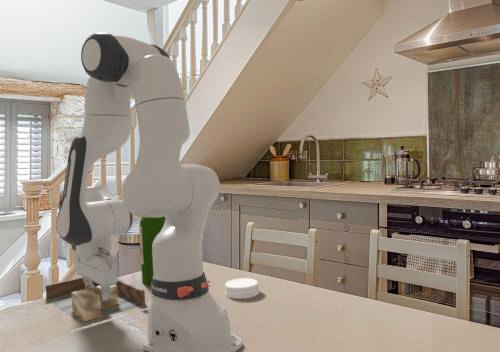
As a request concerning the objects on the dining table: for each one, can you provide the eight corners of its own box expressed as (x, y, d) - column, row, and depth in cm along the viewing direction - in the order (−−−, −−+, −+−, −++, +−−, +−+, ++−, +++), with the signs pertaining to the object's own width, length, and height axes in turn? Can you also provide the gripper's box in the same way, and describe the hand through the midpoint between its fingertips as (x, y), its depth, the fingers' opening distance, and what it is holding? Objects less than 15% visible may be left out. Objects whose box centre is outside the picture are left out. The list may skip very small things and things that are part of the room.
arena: (145, 306, 118) (144, 290, 117) (81, 325, 106) (80, 307, 106) (103, 286, 138) (103, 272, 137) (46, 300, 126) (45, 285, 126)
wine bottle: (141, 280, 142) (136, 183, 140) (168, 277, 145) (164, 181, 143) (143, 288, 134) (137, 185, 132) (172, 285, 136) (167, 183, 135)
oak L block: (111, 300, 122) (110, 282, 121) (126, 307, 115) (125, 289, 115) (72, 310, 114) (71, 292, 114) (85, 319, 108) (84, 300, 107)
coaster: (262, 289, 129) (262, 278, 129) (254, 300, 120) (254, 288, 119) (231, 288, 132) (230, 276, 131) (220, 299, 122) (220, 287, 122)
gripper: (122, 248, 110) (125, 301, 111) (90, 239, 125) (93, 285, 126) (98, 253, 106) (101, 308, 107) (68, 242, 121) (71, 290, 122)
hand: (97, 295), depth 117 cm, fingers open, 8 cm apart
